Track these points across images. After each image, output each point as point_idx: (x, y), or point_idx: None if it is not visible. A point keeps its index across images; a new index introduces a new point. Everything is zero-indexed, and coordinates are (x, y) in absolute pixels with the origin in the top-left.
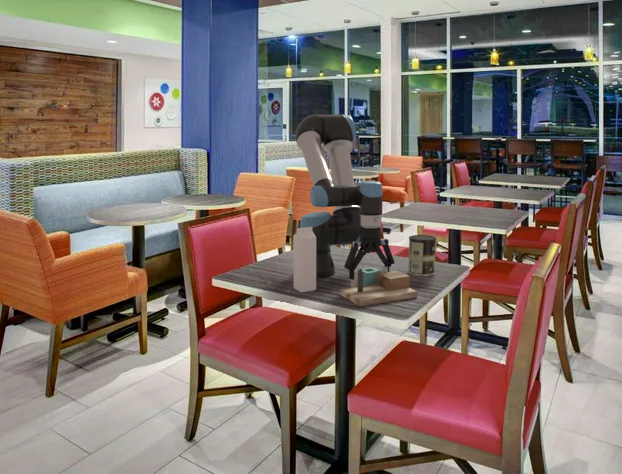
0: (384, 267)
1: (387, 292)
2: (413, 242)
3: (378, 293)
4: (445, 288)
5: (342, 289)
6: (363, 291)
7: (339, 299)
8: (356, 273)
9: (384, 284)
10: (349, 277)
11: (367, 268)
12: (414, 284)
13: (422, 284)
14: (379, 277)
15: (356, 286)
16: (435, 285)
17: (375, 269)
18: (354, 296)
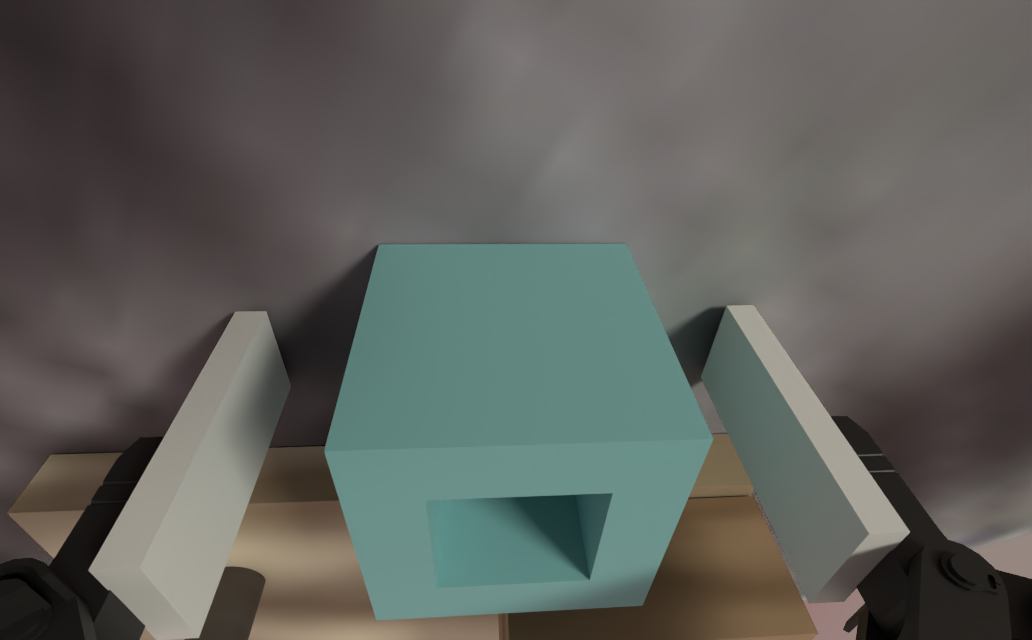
0: (818, 563)
1: (457, 629)
2: None
3: (375, 631)
4: (981, 547)
5: (32, 518)
6: (265, 589)
7: None
8: (207, 590)
9: (501, 615)
10: (120, 467)
11: (556, 473)
12: (946, 433)
13: (992, 452)
14: (506, 628)
15: (278, 410)
16: (1025, 494)
17: (638, 545)
18: (143, 636)
